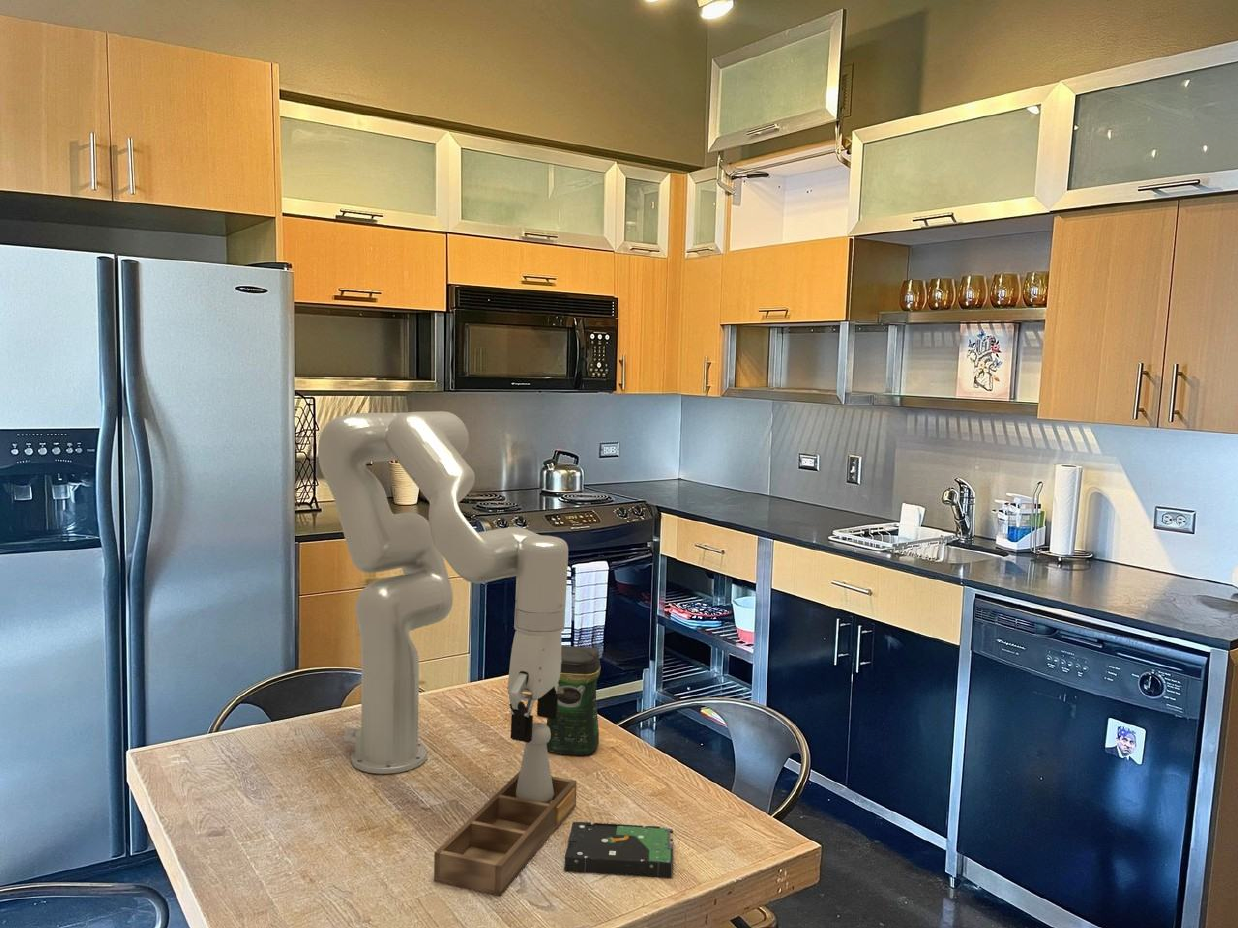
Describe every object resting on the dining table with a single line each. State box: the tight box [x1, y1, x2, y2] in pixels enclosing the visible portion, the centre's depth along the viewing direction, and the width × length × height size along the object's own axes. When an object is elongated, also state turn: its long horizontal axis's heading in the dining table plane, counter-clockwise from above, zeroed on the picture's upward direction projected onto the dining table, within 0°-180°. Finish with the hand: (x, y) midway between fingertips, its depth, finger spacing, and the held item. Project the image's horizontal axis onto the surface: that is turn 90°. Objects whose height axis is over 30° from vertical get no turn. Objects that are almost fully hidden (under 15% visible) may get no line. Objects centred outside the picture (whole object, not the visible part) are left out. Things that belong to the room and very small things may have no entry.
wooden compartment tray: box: [433, 771, 578, 897], centre depth 133 cm, size 10×27×4 cm, turn 162°
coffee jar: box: [546, 645, 601, 756], centre depth 166 cm, size 10×8×19 cm
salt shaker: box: [516, 722, 554, 804], centre depth 141 cm, size 6×6×13 cm
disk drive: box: [564, 821, 674, 879], centre depth 130 cm, size 10×3×15 cm
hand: (534, 728), depth 141 cm, fingers open, 9 cm apart
